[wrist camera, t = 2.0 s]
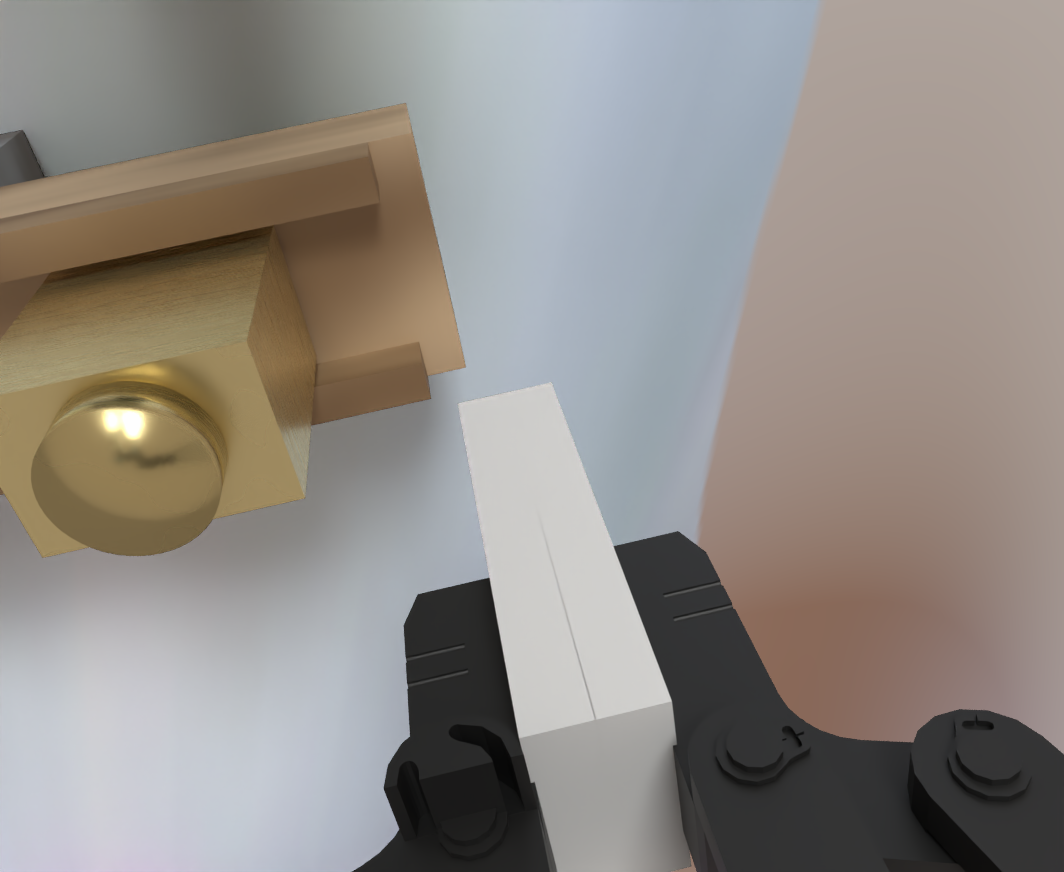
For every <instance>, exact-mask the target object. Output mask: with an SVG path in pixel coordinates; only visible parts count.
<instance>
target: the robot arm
mask: <svg viewBox="0 0 1064 872" xmlns="http://www.w3.org/2000/svg"><path fill="white" fill-rule="evenodd" d="M458 409H459V414H460V419H461V425H462V430H463V436H464V441H465V447H466V452H467V458H468V463H469V468H470V474H471V479H472V485H473V490H474V496H475V501H476V507H477V512H478V518H479V523H480V528H481V534H482V539H483V545H484V550H485V556H486V561H487V567H488V572H489V577H490V578H486V579H482V580H478V581H473V582H469V583H465V584H460V585H456V586H452V587H448V588H443V589H439V590H435V591H430V592H426V593H422V594H418V595H417V597H416V600H415V602H414V604H413V606H412V608H411V611H410V613H409V615H408V617H407V619H406V622H405V624H404V637H405V655H406V661H407V663H406V673H407V684H408V689H407V690H408V708H409V725H410V737H409V738H408V739H407V740H405V741H404V742H403V743H402V744H401V746H400V747H399V749H398V750H397V752H396V753H395V755H394V756H393V758H392V760H391V761H390V763H389V764H388V768H387V773H386V778H385V784H384V791H385V793H386V796H387V798H388V801H389V804H390V806H391V809H392V811H393V814H394V816H395V819H396V821H397V824H398V826H399V831H398V832H397V834H396V836H395V837H394V838H393V839H392V840H391V841H390V842H389V844H388V845H387V846H386V847H385V848H384V849H383V850H382V851H381V852H380V853H379V854H378V855H376V856H375V857H373V858H372V859H371V860H369V861H368V862H366V863H365V864H364V865H362V866H361V867H359V868H357V869H356V870H354V871H352V872H671V871H675V870H679V869H683V868H687V867H691V860H690V853H691V856H692V859H693V862H694V865H695V867H696V871H697V872H1064V754H1063V753H1061V752H1060V751H1059V750H1058V749H1057V748H1056V747H1054V746H1053V745H1052V744H1051V743H1050V742H1049V741H1047V740H1046V739H1045V738H1044V737H1043V736H1041V735H1040V734H1038V733H1037V732H1035V731H1033V730H1032V729H1030V728H1029V727H1027V726H1026V725H1024V724H1022V723H1021V722H1019V721H1018V720H1015V719H1013V718H1009V717H1006V716H1003V715H1000V714H997V713H994V712H991V711H986V710H962V709H959V710H956V711H952V712H948V713H945V714H941V715H938V716H935V717H934V718H932V719H931V720H930V721H929V722H928V723H926V724H925V725H924V726H923V727H922V728H920V729H919V730H918V732H917V734H916V737H915V740H914V743H911V742H889V741H869V740H857V739H850V738H843V737H839V736H835V735H833V734H829V733H827V732H823V731H821V730H819V729H817V728H815V727H813V726H812V725H810V724H808V723H806V722H805V721H804V720H803V719H800V718H799V717H798V716H797V715H796V714H794V713H793V712H792V711H791V710H790V709H789V708H788V707H787V705H786V704H785V703H784V701H783V700H782V698H781V697H780V695H779V694H778V692H777V690H776V688H775V686H774V684H773V682H772V680H771V678H770V677H769V675H768V673H767V671H766V669H765V667H764V665H763V663H762V661H761V659H760V657H759V655H758V653H757V651H756V649H755V647H754V645H753V643H752V641H751V639H750V637H749V635H748V634H747V632H746V630H745V628H744V626H743V624H742V622H741V620H740V618H739V616H738V614H737V612H736V610H735V609H733V607H732V602H731V600H730V598H729V597H728V595H727V592H726V591H725V589H724V587H723V586H722V585H721V582H720V579H719V577H718V575H717V573H716V571H715V569H714V567H713V565H712V563H711V561H710V560H709V557H708V555H707V554H706V552H705V551H704V550H702V549H701V548H700V547H698V546H697V545H696V544H694V543H693V542H692V541H690V540H689V539H688V538H686V537H685V536H684V535H682V534H681V533H680V532H678V531H677V532H673V533H669V534H665V535H660V536H656V537H652V538H647V539H643V540H639V541H635V542H630V543H626V544H622V545H617V546H613V544H612V541H611V539H610V536H609V533H608V531H607V528H606V525H605V523H604V520H603V518H602V515H601V512H600V510H599V507H598V504H597V502H596V499H595V496H594V494H593V491H592V488H591V486H590V483H589V480H588V478H587V475H586V473H585V470H584V467H583V465H582V462H581V459H580V457H579V454H578V451H577V449H576V446H575V443H574V441H573V438H572V435H571V433H570V430H569V427H568V425H567V422H566V420H565V417H564V414H563V412H562V409H561V406H560V404H559V401H558V398H557V396H556V393H555V390H554V388H553V385H552V382H551V383H546V384H542V385H537V386H533V387H528V388H524V389H519V390H515V391H510V392H506V393H501V394H497V395H492V396H488V397H484V398H479V399H475V400H470V401H466V402H461V403H458ZM689 850H690V851H689Z"/></svg>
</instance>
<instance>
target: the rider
mask: <svg viewBox="0 0 1064 872" xmlns="http://www.w3.org/2000/svg"><path fill="white" fill-rule="evenodd" d="M316 359H317V356H316V353H315V350H314V347H313V344H312V341H311V338H310V334H309V331H308V328H307V325H306V322H305V319H304V316H303V313H302V310H301V307H300V304H299V301H298V298H297V295H296V292H295V289H294V286H293V283H292V280H291V277H290V274H289V271H288V268H287V265H286V262H285V259H284V256H283V253H282V250H281V247H280V244H279V240H278V237H277V234H276V231H275V228H274V225H272V226H267V227H263V228H258V229H253V230H248V231H244V232H239V233H234V234H230V235H225V236H220V237H215V238H211V239H206V240H201V241H196V242H192V243H187V244H182V245H178V246H173V247H168V248H163V249H159V250H154V251H149V252H145V253H140V254H135V255H130V256H126V257H121V258H116V259H112V260H107V261H102V262H97V263H93V264H88V265H83V266H78V267H74V268H69V269H64V270H60V271H55V272H51V273H50V274H49V275H48V277H47V278H46V279H45V281H44V282H43V283H42V285H41V286H40V287H39V289H38V290H37V291H36V293H35V294H34V295H33V297H32V298H31V299H30V301H29V302H28V303H27V305H26V306H25V307H24V309H23V310H22V312H21V313H20V314H19V316H18V317H17V318H16V320H15V321H14V322H13V324H12V325H11V326H10V328H9V329H8V330H7V332H6V333H5V334H4V336H3V337H2V338H1V340H0V488H1V489H2V491H3V493H4V494H5V496H6V498H7V499H8V501H9V503H10V504H11V506H12V508H13V509H14V511H15V513H16V514H17V516H18V518H19V519H20V521H21V523H22V524H23V526H24V528H25V529H26V531H27V533H28V534H29V536H30V538H31V539H32V541H33V543H34V544H35V546H36V548H37V549H38V551H39V553H40V554H41V556H42V558H44V557H49V556H53V555H57V554H62V553H66V552H71V551H75V550H79V549H84V548H88V547H91V548H93V549H96V550H100V551H103V552H107V553H112V554H117V555H125V556H145V555H154V554H160V553H164V552H167V551H171V550H174V549H176V548H179V547H181V546H183V545H185V544H187V543H188V542H190V541H192V540H193V539H195V538H196V537H197V536H199V535H200V534H201V533H202V532H203V531H204V530H205V529H206V528H207V526H208V525H209V524H210V522H211V521H212V519H216V518H220V517H225V516H229V515H234V514H238V513H242V512H247V511H251V510H256V509H260V508H264V507H269V506H273V505H278V504H282V503H286V502H291V501H295V500H300V499H304V498H305V496H306V483H307V471H308V458H309V446H310V434H311V421H312V409H313V396H314V384H315V371H316Z"/></svg>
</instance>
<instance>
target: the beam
mask: <svg viewBox="0 0 1064 872" xmlns="http://www.w3.org/2000/svg"><path fill="white" fill-rule="evenodd" d="M272 225H274V228H275V231H276V234H277V237H278V240H279V244H280V247H281V250H282V253H283V256H284V259H285V262H286V265H287V268H288V271H289V274H290V277H291V280H292V283H293V286H294V289H295V292H296V295H297V298H298V301H299V304H300V307H301V310H302V313H303V316H304V319H305V322H306V325H307V328H308V331H309V334H310V338H311V341H312V344H313V347H314V350H315V353H316V356H317V359H316V371H315V384H314V396H313V409H312V421H311V425H316V424H320V423H325V422H329V421H334V420H338V419H343V418H347V417H352V416H356V415H360V414H365V413H369V412H374V411H378V410H383V409H387V408H392V407H396V406H401V405H405V404H410V403H414V402H419V401H423V400H428V399H431V396H430V388H429V381H428V376H429V375H434V374H438V373H443V372H447V371H452V370H456V369H461V368H465V367H466V366H465V361H464V356H463V352H462V347H461V343H460V338H459V333H458V329H457V324H456V320H455V315H454V311H453V306H452V302H451V298H450V293H449V289H448V285H447V280H446V276H445V272H444V267H443V263H442V258H441V254H440V250H439V245H438V241H437V237H436V232H435V228H434V224H433V219H432V215H431V210H430V206H429V202H428V197H427V193H426V189H425V184H424V180H423V176H422V171H421V167H420V162H419V158H418V154H417V149H416V145H415V141H414V136H413V132H412V128H411V123H410V119H409V114H408V110H407V106H406V103H404V104H399V105H394V106H389V107H385V108H380V109H375V110H370V111H365V112H360V113H356V114H351V115H346V116H341V117H336V118H331V119H327V120H322V121H317V122H312V123H307V124H302V125H298V126H293V127H288V128H283V129H278V130H273V131H269V132H264V133H259V134H254V135H249V136H244V137H240V138H235V139H230V140H225V141H220V142H215V143H210V144H206V145H201V146H196V147H191V148H186V149H181V150H177V151H172V152H167V153H162V154H157V155H152V156H148V157H143V158H138V159H133V160H128V161H123V162H119V163H114V164H109V165H104V166H99V167H94V168H90V169H85V170H80V171H75V172H70V173H65V174H61V175H56V176H51V177H46V178H44V176H43V174H42V171H41V169H40V167H39V165H38V163H37V161H36V158H35V156H34V154H33V152H32V150H31V147H30V145H29V143H28V141H27V139H26V137H25V134H24V132H23V130H20V131H15V132H10V133H5V134H0V340H1V338H2V337H3V336H4V334H5V333H6V332H7V330H8V329H9V328H10V326H11V325H12V324H13V322H14V321H15V320H16V318H17V317H18V316H19V314H20V313H21V312H22V310H23V309H24V307H25V306H26V305H27V303H28V302H29V301H30V299H31V298H32V297H33V295H34V294H35V293H36V291H37V290H38V289H39V287H40V286H41V285H42V283H43V282H44V281H45V279H46V278H47V277H48V275H49V274H50V273H51V272H55V271H60V270H64V269H69V268H74V267H78V266H83V265H88V264H93V263H97V262H102V261H107V260H112V259H116V258H121V257H126V256H130V255H135V254H140V253H145V252H149V251H154V250H159V249H163V248H168V247H173V246H178V245H182V244H187V243H192V242H196V241H201V240H206V239H211V238H215V237H220V236H225V235H230V234H234V233H239V232H244V231H248V230H253V229H258V228H263V227H267V226H272ZM2 494H4V493H3V491H2V489H1V488H0V495H2Z"/></svg>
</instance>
